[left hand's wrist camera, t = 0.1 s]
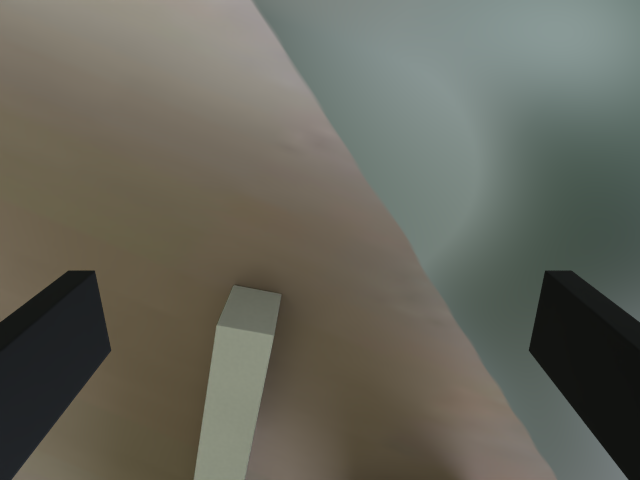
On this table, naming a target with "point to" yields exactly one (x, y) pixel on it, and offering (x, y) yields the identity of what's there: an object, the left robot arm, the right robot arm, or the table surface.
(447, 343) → the table surface
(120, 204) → the table surface
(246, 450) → the beam
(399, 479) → the table surface
